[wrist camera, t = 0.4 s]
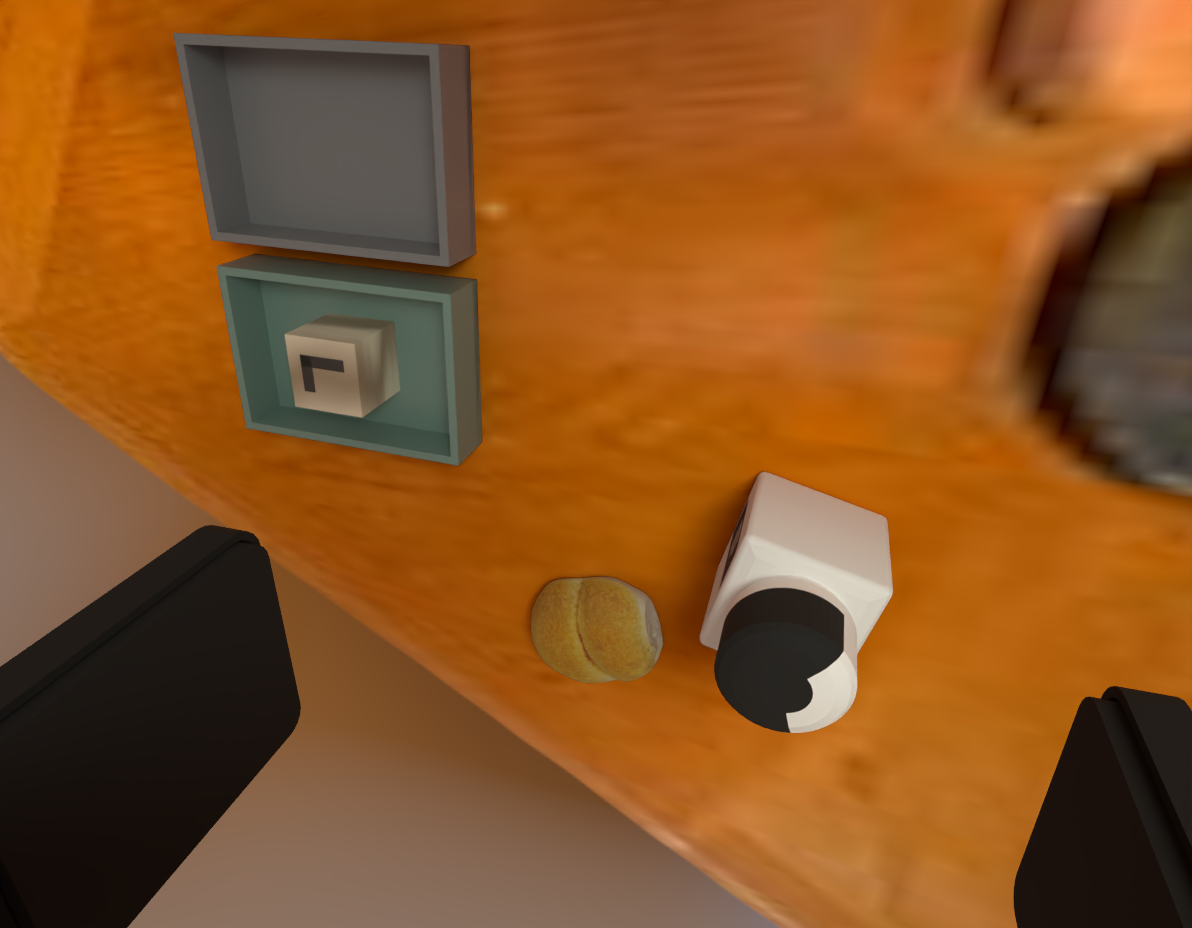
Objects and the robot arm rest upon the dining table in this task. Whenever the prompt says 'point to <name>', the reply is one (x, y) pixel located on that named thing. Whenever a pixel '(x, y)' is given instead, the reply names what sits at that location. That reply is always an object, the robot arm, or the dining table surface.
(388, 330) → the letter cube
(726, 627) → the container
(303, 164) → the charcoal bin
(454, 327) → the green-grey bin
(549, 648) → the bread roll
